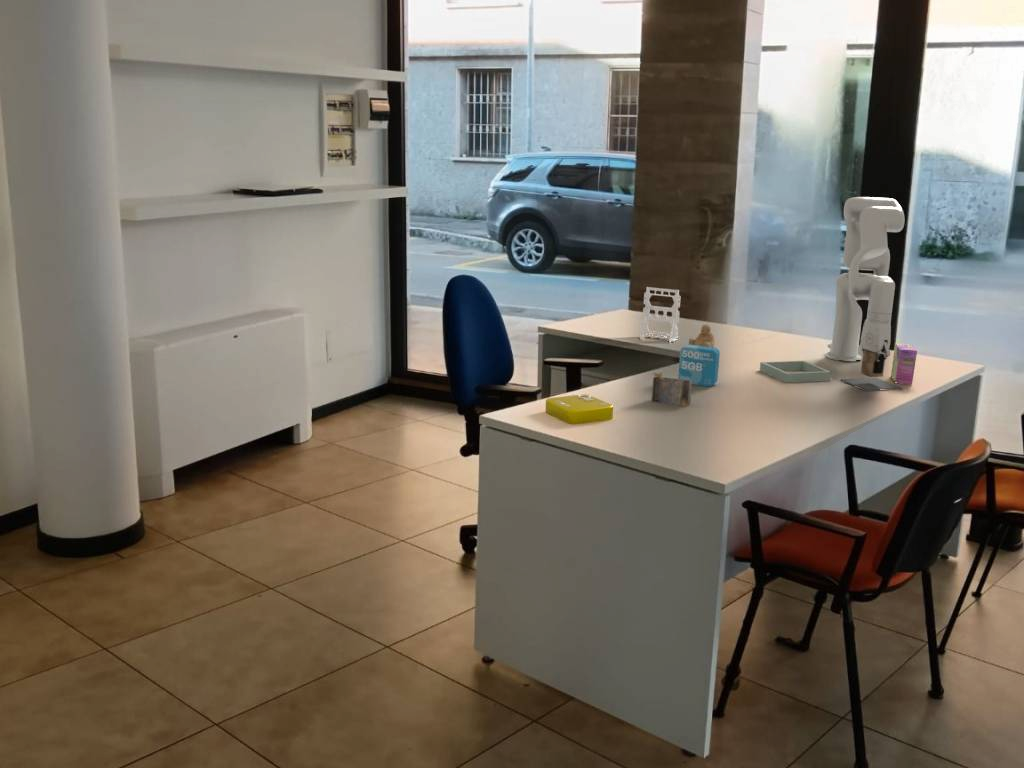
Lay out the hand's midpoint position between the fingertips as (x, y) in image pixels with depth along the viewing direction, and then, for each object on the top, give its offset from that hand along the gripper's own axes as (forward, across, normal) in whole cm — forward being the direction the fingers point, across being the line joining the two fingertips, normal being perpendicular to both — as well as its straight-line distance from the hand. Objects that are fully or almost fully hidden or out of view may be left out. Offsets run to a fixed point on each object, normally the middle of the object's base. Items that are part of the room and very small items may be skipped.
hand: (872, 370), depth 349 cm
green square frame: (+5, -16, -19) cm, 25 cm away
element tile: (+6, +18, -110) cm, 112 cm away
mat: (+5, 0, 0) cm, 5 cm away
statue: (+5, -45, -40) cm, 60 cm away
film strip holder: (+5, -80, -40) cm, 90 cm away
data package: (+5, -11, -58) cm, 59 cm away
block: (+2, 0, 0) cm, 2 cm away
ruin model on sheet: (+6, +10, -77) cm, 78 cm away
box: (+5, -4, +15) cm, 16 cm away
